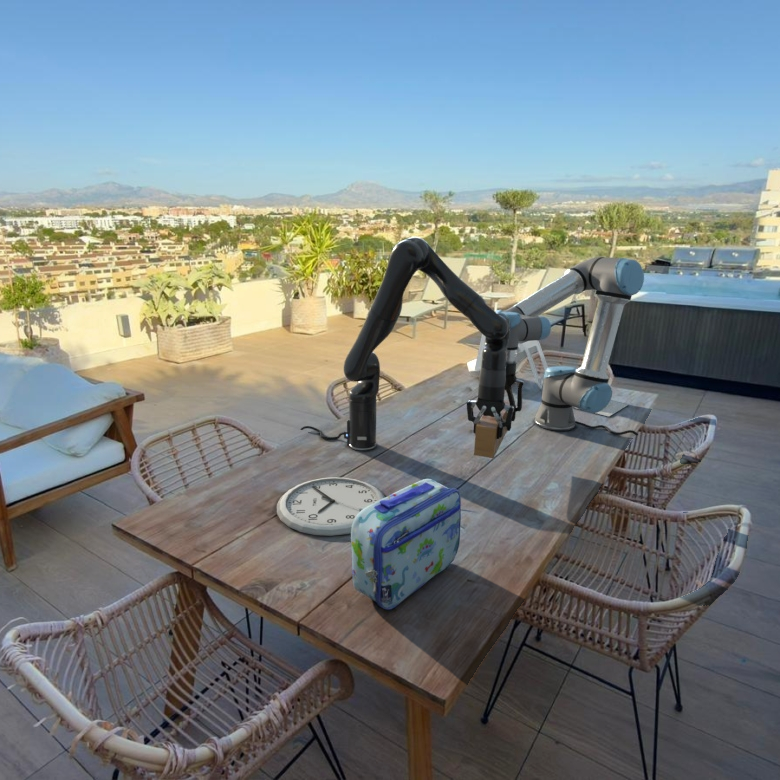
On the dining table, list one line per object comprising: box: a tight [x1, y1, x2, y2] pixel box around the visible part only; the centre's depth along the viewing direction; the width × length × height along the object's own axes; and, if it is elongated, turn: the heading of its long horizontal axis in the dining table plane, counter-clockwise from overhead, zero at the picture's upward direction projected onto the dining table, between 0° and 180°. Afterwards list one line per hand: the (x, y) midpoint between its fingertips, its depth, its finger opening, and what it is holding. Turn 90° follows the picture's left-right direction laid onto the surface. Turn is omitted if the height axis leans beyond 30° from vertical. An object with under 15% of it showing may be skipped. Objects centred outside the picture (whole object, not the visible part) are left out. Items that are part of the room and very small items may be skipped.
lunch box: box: [350, 478, 462, 611], centre depth 110 cm, size 26×11×21 cm, turn 135°
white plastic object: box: [466, 333, 549, 390], centre depth 259 cm, size 37×45×31 cm
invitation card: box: [573, 400, 629, 418], centre depth 226 cm, size 21×1×15 cm
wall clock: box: [276, 476, 386, 537], centre depth 142 cm, size 30×2×30 cm
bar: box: [473, 399, 510, 459], centre depth 165 cm, size 27×6×9 cm, turn 158°
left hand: (487, 436), depth 156 cm, fingers closed on bar, 6 cm apart
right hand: (498, 427), depth 175 cm, fingers closed on bar, 6 cm apart
